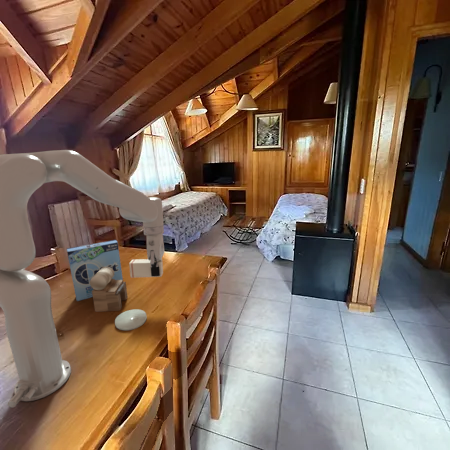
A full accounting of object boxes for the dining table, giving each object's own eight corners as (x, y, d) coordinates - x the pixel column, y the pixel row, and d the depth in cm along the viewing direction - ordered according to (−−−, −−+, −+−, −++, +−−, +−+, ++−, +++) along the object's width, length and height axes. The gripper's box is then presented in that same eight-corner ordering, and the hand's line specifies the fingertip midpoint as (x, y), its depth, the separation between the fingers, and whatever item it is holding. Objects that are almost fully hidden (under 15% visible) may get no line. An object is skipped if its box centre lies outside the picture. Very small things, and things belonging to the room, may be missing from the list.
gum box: (121, 284, 121) (116, 239, 115) (124, 288, 117) (118, 242, 111) (75, 296, 111) (66, 247, 105) (76, 302, 107) (66, 251, 101)
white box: (161, 276, 100) (160, 262, 99) (130, 277, 100) (129, 263, 98) (163, 272, 104) (162, 258, 103) (133, 273, 104) (132, 259, 102)
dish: (142, 329, 89) (142, 326, 89) (110, 331, 88) (110, 328, 88) (149, 311, 100) (149, 308, 99) (121, 312, 99) (120, 309, 99)
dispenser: (119, 310, 100) (115, 276, 97) (93, 311, 100) (88, 277, 96) (127, 297, 110) (123, 265, 106) (104, 298, 109) (99, 266, 106)
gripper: (159, 235, 90) (162, 282, 94) (167, 224, 106) (169, 265, 111) (138, 235, 90) (142, 283, 94) (148, 224, 106) (151, 265, 110)
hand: (156, 272), depth 102 cm, fingers closed on white box, 4 cm apart
